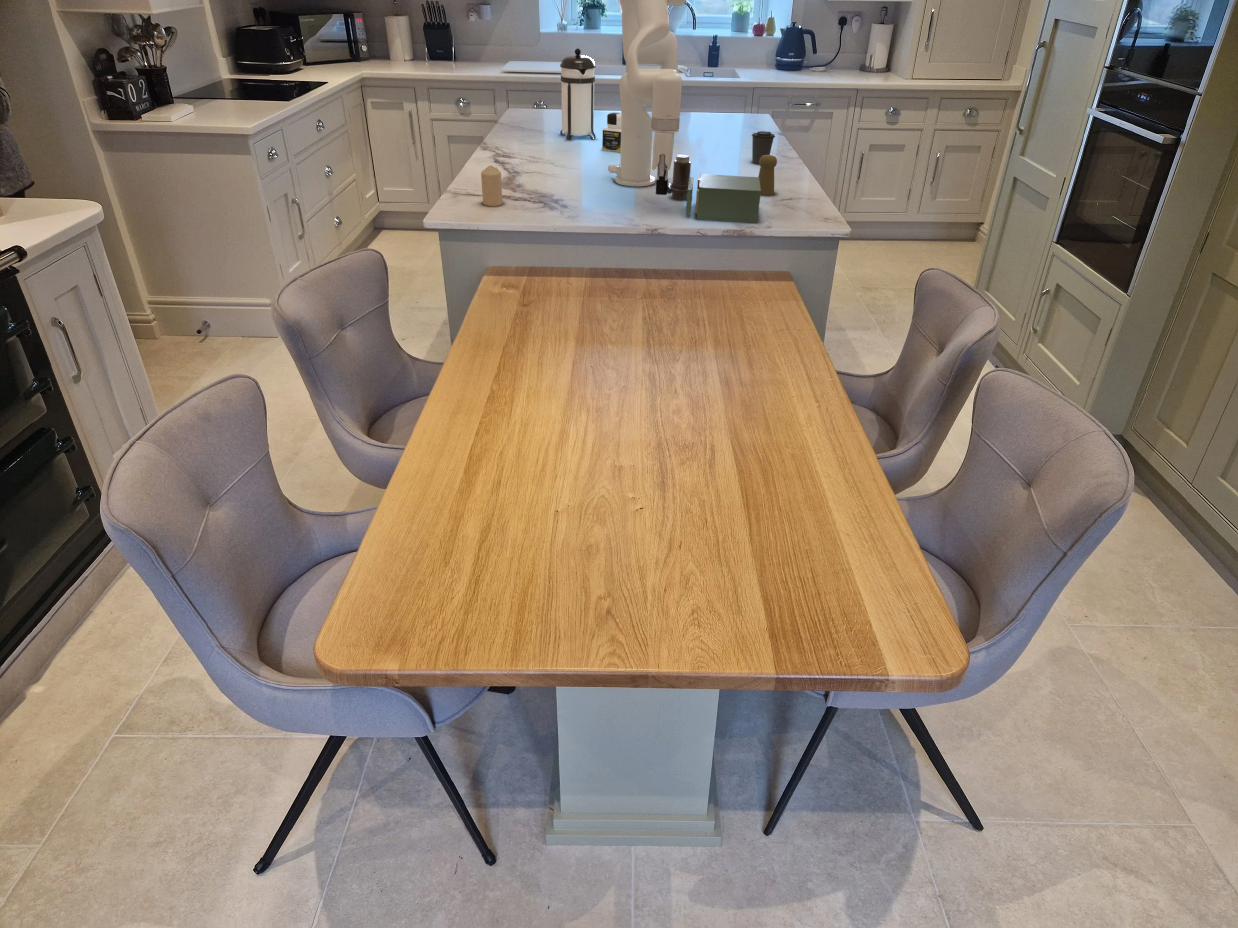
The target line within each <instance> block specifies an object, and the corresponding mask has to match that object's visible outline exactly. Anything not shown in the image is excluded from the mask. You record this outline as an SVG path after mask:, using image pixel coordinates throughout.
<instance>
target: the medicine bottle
mask: <svg viewBox="0 0 1238 928" xmlns="http://www.w3.org/2000/svg"><path fill="white" fill-rule="evenodd" d="M606 126H607V127H604V128H603V129H602V143H601V145H602V146H601V149H602V151H610V152H617V153H621V112H610V113H608V114H607V115H606Z"/></svg>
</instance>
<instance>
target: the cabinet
mask: <svg viewBox="0 0 1238 928" xmlns="http://www.w3.org/2000/svg"><path fill="white" fill-rule="evenodd" d="M699 175H700V176H699V179H700V183H699V195H698V207H697V213H696V220H704V221H719V222H720V221H722V222H734V223H735V222H737V223H751V224H752V223H753V224H757V223H758V218H759V210H760V203H761V196H762V195H761V188H760V181H759V177H758V176H744V175H727V174H726V175H725V174H724V175H723V174H709V173H700V174H699Z"/></svg>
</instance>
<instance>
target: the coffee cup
mask: <svg viewBox="0 0 1238 928" xmlns="http://www.w3.org/2000/svg"><path fill="white" fill-rule="evenodd" d="M775 138H776V136H775V134H774V133H772V132H771V131H764V130H760V131H759V130H758V131H754V132H752V133H751V139H752V144H751V145H752V149H751V155H752V156H751V162H752V164H754V165H759V166H760V163H759V161H760V158H761V157H762V156H763V155H771V152H772V147H773V143H774V139H775Z"/></svg>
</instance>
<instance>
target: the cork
mask: <svg viewBox="0 0 1238 928" xmlns="http://www.w3.org/2000/svg"><path fill="white" fill-rule="evenodd" d="M759 163H760V165H759V166H760V168H759V172H758V176H757V177H759V181H760V188H761V195H760V196H761V197H762V196H764V197H770V196H774V195H775V168H776V166H777V164H778V159H777V157H776V156H775V155H772V154H770V155H763V156H762V157H761V158H760V161H759Z"/></svg>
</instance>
